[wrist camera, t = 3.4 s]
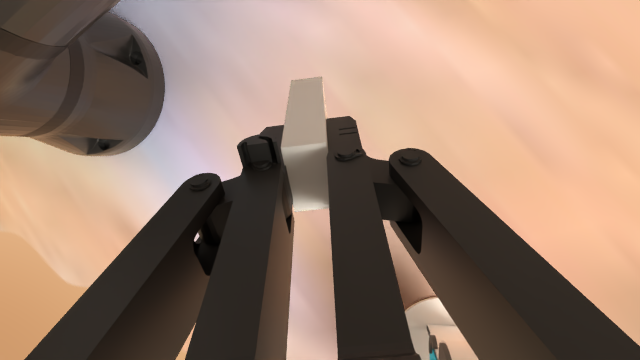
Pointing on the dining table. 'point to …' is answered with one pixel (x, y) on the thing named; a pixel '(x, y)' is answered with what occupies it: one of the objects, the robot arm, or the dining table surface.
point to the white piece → (436, 332)
